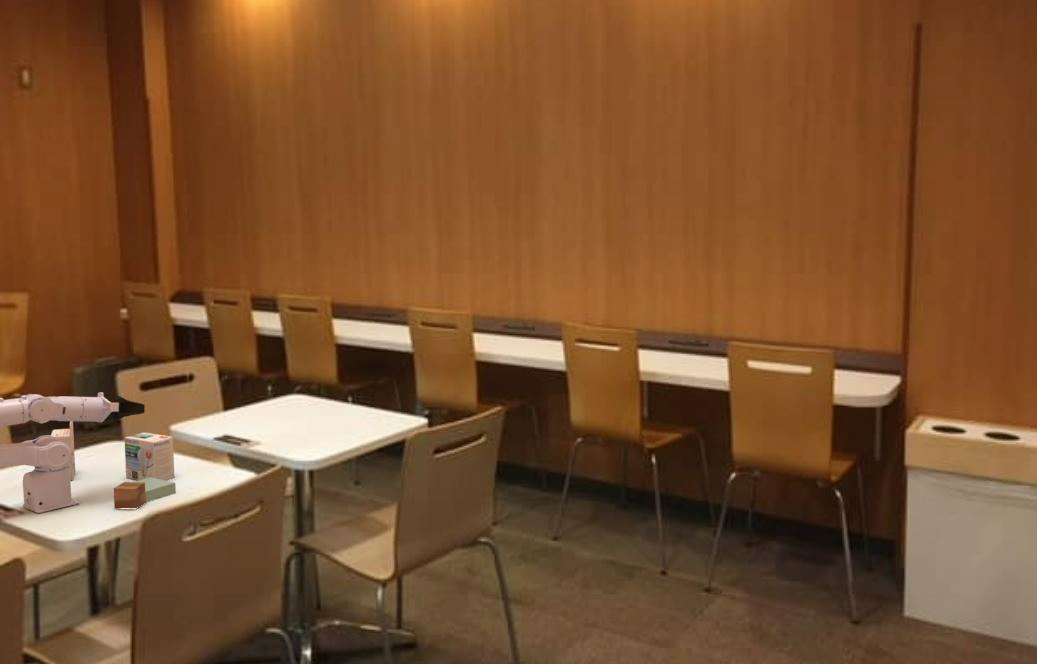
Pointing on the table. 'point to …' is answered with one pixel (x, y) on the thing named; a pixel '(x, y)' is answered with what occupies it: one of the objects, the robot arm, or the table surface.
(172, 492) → the sage green box
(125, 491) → the walnut cube
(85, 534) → the table surface
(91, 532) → the table surface
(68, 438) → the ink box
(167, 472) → the light bulb box
